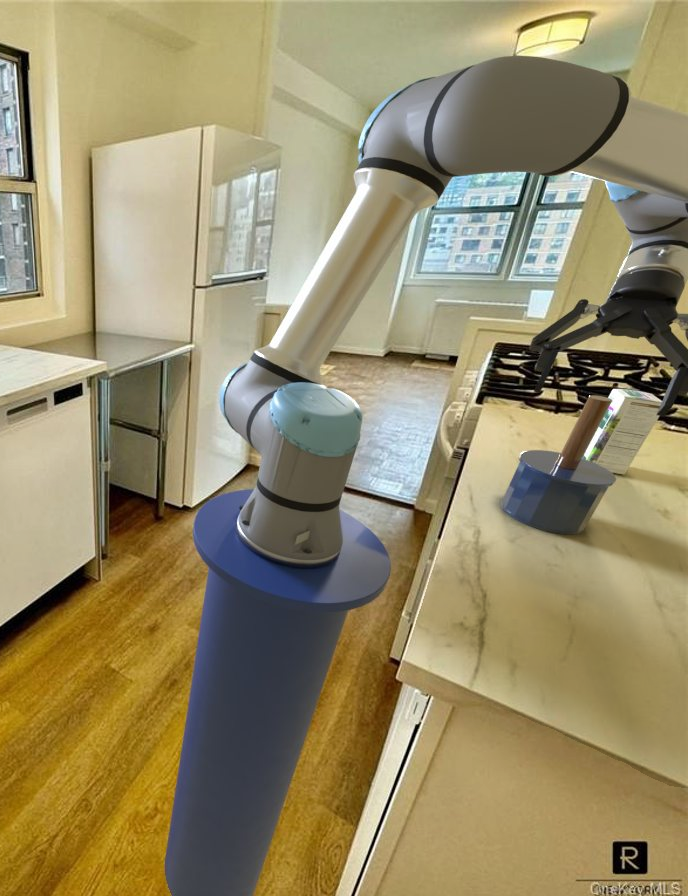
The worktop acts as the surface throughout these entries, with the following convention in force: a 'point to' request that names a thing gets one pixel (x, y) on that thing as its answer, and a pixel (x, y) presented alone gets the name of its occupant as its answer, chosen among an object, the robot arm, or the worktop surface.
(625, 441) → the syrup box
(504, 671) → the worktop surface
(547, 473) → the lid
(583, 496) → the pot
